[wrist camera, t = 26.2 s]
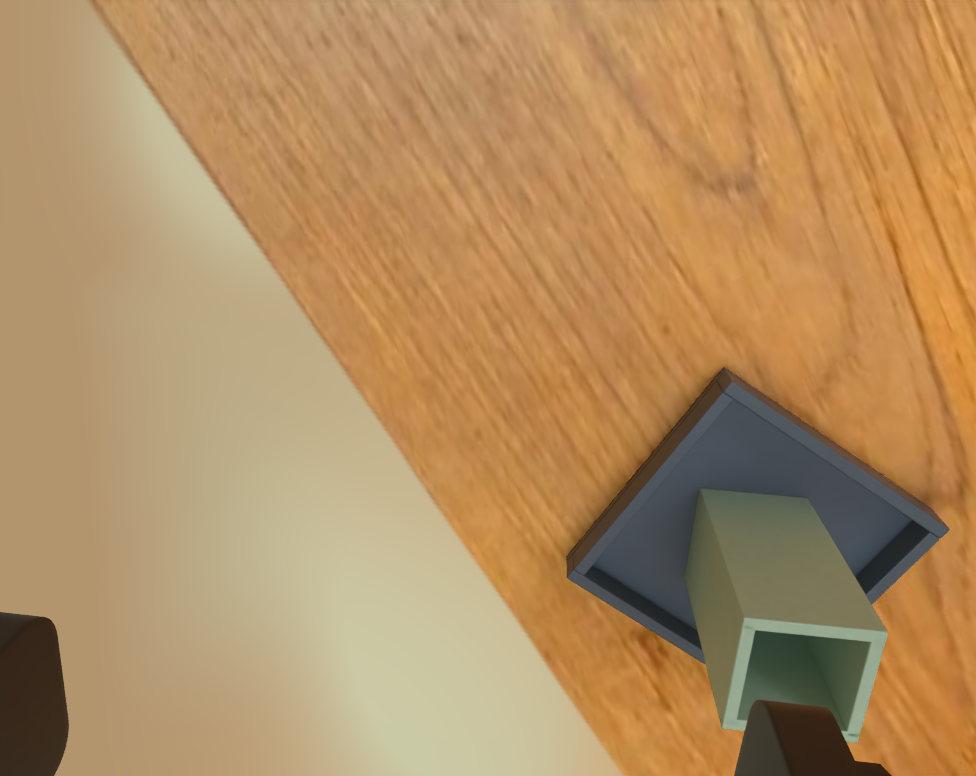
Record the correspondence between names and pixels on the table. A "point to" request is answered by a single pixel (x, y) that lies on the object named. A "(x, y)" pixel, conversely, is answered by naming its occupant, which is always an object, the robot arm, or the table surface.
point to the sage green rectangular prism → (779, 610)
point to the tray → (752, 469)
